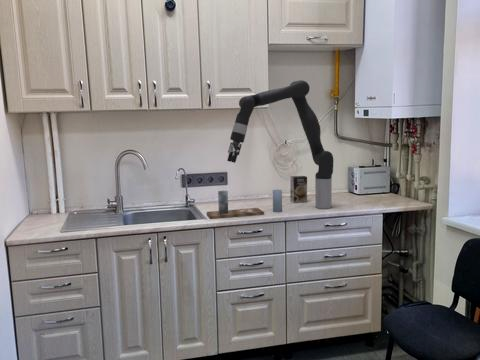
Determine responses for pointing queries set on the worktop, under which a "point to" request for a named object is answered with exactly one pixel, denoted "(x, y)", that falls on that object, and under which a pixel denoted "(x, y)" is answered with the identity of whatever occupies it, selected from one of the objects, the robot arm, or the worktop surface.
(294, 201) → the coffee box
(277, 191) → the column
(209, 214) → the board
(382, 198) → the worktop surface
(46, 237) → the worktop surface
